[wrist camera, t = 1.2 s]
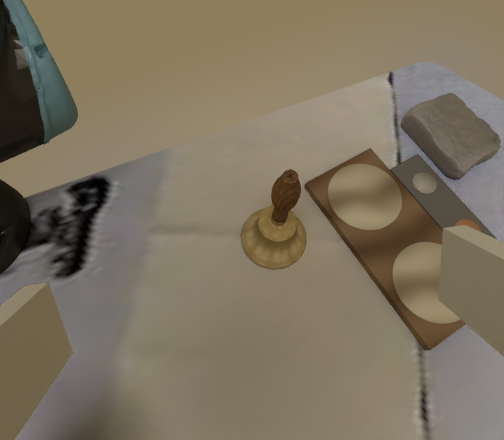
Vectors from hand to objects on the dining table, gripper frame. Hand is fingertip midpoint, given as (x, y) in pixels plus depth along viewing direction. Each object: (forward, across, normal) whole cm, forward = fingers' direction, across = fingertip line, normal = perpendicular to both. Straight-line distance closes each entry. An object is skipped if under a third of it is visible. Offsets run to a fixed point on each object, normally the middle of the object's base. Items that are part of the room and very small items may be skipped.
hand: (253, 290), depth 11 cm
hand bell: (+29, +4, -10) cm, 31 cm away
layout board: (+28, +19, -12) cm, 35 cm away
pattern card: (+30, +26, -9) cm, 41 cm away
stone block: (+38, +31, -2) cm, 49 cm away
